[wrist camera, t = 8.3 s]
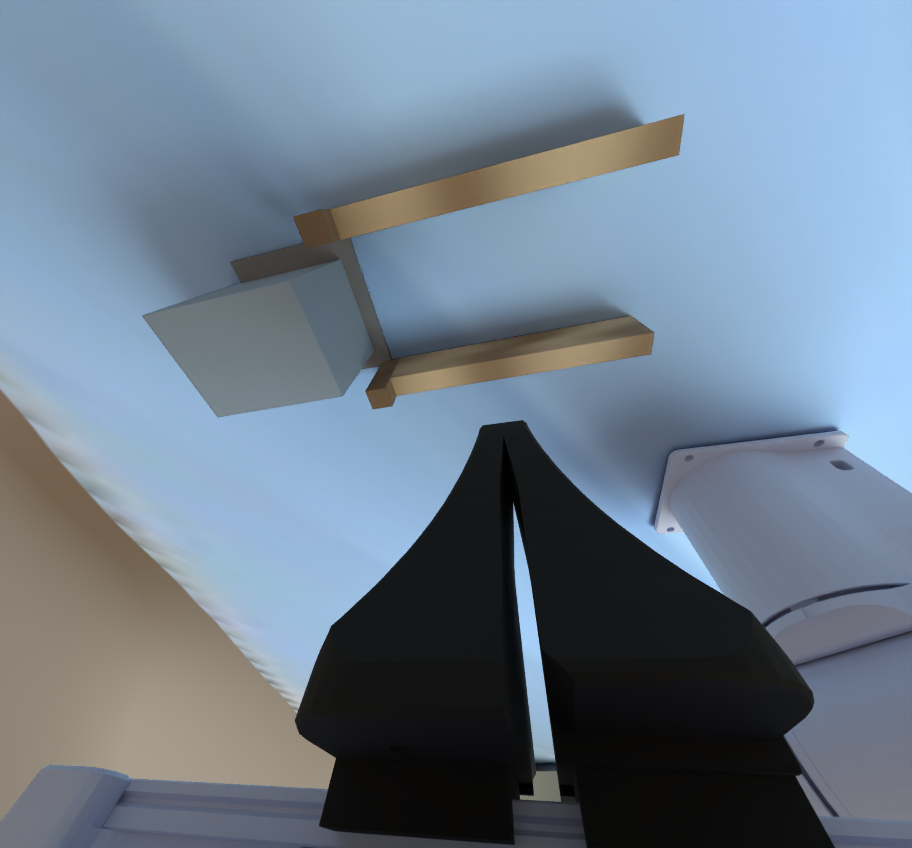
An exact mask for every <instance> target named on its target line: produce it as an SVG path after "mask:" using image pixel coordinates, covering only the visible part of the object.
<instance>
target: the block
mask: <svg viewBox="0 0 912 848" xmlns="http://www.w3.org/2000/svg"><path fill="white" fill-rule="evenodd" d="M142 317H143V318H144V319H145V321H146V322H147V323H148V325H149V326H150V327H151V329H152V330H153V331H154V333H155V334H156V335H157V337H158V338H159V339H160V341H161V342H162V344H163V345H164V346H165V348H166V349H167V350H168V352H169V353H170V354H171V356H172V357H173V358H174V360H175V361H176V362H177V364H178V365H179V366H180V368H181V369H182V370H183V372H184V373H185V374H186V376H187V377H188V378H189V380H190V381H191V382H192V384H193V385H194V386H195V388H196V389H197V391H198V392H199V393H200V395H201V396H202V397H203V399H204V400H205V401H206V403H207V404H208V405H209V407H210V408H211V409H212V411H213V412H214V413H215V415H216V416H217V417H222V416H228V415H234V414H240V413H246V412H252V411H258V410H264V409H270V408H276V407H282V406H288V405H294V404H300V403H306V402H312V401H318V400H323V399H329V398H335V397H341V396H343V395H344V394H345V392H346V391H347V389H348V388H349V386H350V385H351V384H352V382H353V381H354V379H355V378H356V376H357V375H358V373H359V372H360V370H361V369H362V368H363V366H364V365H365V363H366V362H367V360H368V359H369V357H370V356H371V354H372V353H373V351H374V348H373V346H372V343H371V340H370V337H369V335H368V332H367V329H366V326H365V324H364V321H363V318H362V316H361V313H360V310H359V307H358V305H357V302H356V299H355V297H354V294H353V291H352V288H351V286H350V283H349V280H348V278H347V275H346V272H345V269H344V267H343V264H342V261H341V259H340V260H336V261H332V262H328V263H324V264H319V265H315V266H311V267H307V268H303V269H299V270H295V271H290V272H286V273H282V274H278V275H274V276H270V277H265V278H261V279H257V280H253V281H249V282H245V283H241V284H236V285H232V286H228V287H225V288H222V289H219V290H216V291H213V292H210V293H208V294H205V295H202V296H199V297H196V298H193V299H190V300H187V301H184V302H181V303H178V304H175V305H172V306H169V307H166V308H163V309H160V310H157V311H154V312H151V313H148V314H145V315H142Z"/></svg>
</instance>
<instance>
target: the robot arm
mask: <svg viewBox="0 0 912 848" xmlns="http://www.w3.org/2000/svg"><path fill="white" fill-rule="evenodd" d="M848 438H849V436H848V435H847V434H845V433H844V432H842V431H832V432H823V433H815V434H806V435H798V436H790V437H781V438H773V439H764V440H756V441H747V442H739V443H730V444H722V445H714V446H705V447H697V448H688V449H680V450H675V451H673V452H672V453H671V454H670V455H669V458H668V462H667V467H666V472H665V477H664V481H663V486H662V491H661V496H660V500H659V505H658V510H657V515H656V519H655V524H654V529H655V531H656V532H657V533H659V534H666V533H679V532H684V533H685V535H686V536H687V538H688V539H689V541H690V542H691V544H692V546H693V547H694V549H695V550H696V552H697V553H698V555H699V557H700V558H701V560H702V561H703V563H704V564H705V566H706V568H707V569H708V571H709V572H710V574H711V576H712V577H713V579H714V580H715V582H716V583H717V585H718V587H719V588H720V590H721V591H722V593H723V594H724V595H723V594H721V593H720V592H718V591H716V590H715V589H713V588H711V587H710V586H708V585H706V584H705V583H703V582H701V581H700V580H698V579H696V578H695V577H693V576H691V575H690V574H688V573H687V572H685V571H684V570H682V569H681V568H679V567H678V566H676V565H675V564H673V563H672V562H670V561H669V560H667V559H666V558H664V557H663V556H661V555H660V554H658V553H657V552H655V551H654V550H653V549H651V548H650V547H649V546H647V545H646V544H645V543H643V542H642V541H641V540H639V539H638V538H637V537H635V536H634V535H632V534H631V533H630V532H628V531H627V530H626V529H624V528H623V527H622V526H620V525H619V524H618V523H616V522H615V521H614V520H613V519H612V518H610V517H609V516H608V515H607V514H606V513H604V512H603V511H602V510H601V509H600V508H598V507H597V506H596V505H595V504H594V503H593V502H592V501H591V500H590V499H588V498H587V497H586V496H585V495H584V494H583V493H582V492H581V491H580V490H579V489H578V488H577V487H576V486H575V485H574V484H573V483H572V482H571V481H570V480H569V479H568V478H567V477H566V476H565V475H564V474H563V473H562V471H561V470H560V469H559V468H558V467H557V466H556V465H555V464H554V462H553V461H552V460H551V459H550V457H549V456H548V455H547V454H546V453H545V451H544V450H543V449H542V447H541V446H540V445H539V443H538V442H537V440H536V439H535V437H534V436H533V434H532V433H531V431H530V429H529V428H528V426H527V423H526V422H524V421H523V420H521V421H513V422H505V423H498V424H490V425H483V426H482V427H481V428H480V430H479V434H478V437H477V440H476V443H475V445H474V448H473V450H472V452H471V455H470V457H469V459H468V461H467V463H466V465H465V467H464V469H463V471H462V473H461V475H460V477H459V479H458V480H457V482H456V484H455V486H454V487H453V489H452V491H451V493H450V494H449V496H448V498H447V499H446V501H445V502H444V504H443V505H442V507H441V508H440V510H439V511H438V513H437V514H436V516H435V517H434V518H433V520H432V521H431V522H430V524H429V525H428V526H427V528H426V529H425V530H424V531H423V533H422V534H421V535H420V537H419V538H418V539H417V540H416V542H415V543H414V544H413V545H412V546H411V548H410V549H409V550H408V551H407V552H406V553H405V554H404V556H403V557H402V558H401V559H400V560H399V561H398V562H397V563H396V564H395V565H394V566H393V567H392V568H391V570H390V571H389V572H388V573H387V574H386V575H385V576H384V577H383V578H382V579H381V580H380V581H379V582H378V583H377V584H376V585H375V586H374V587H373V588H372V589H371V590H370V591H369V592H368V593H367V594H366V595H365V596H364V597H363V598H362V599H360V600H359V601H358V602H357V603H356V604H355V605H354V606H353V607H352V608H351V609H350V610H349V611H348V612H346V613H345V614H344V615H343V616H342V617H341V618H340V619H339V620H338V621H337V622H335V623H334V624H333V625H332V626H331V628H330V630H329V633H328V635H327V637H326V639H325V641H324V643H323V646H322V648H321V650H320V652H319V655H318V657H317V660H316V662H315V665H314V668H313V671H312V673H311V676H310V679H309V682H308V685H307V687H306V690H305V693H304V696H303V699H302V702H301V704H300V707H299V710H298V713H297V716H296V719H295V723H296V725H297V729H298V731H299V734H300V735H302V736H303V737H304V738H305V739H307V740H308V741H310V742H311V743H313V744H314V745H316V746H318V747H319V748H321V749H323V750H325V751H326V752H328V753H329V754H331V755H332V756H334V757H335V758H336V761H335V765H334V768H333V772H332V777H331V780H330V784H329V788H328V789H314V788H296V787H295V788H293V787H276V786H259V785H240V784H222V783H204V782H185V781H167V780H166V781H165V780H148V779H130V778H129V776H128V775H125V774H122V773H119V772H116V771H111V770H107V769H102V768H96V767H85V766H84V767H83V766H64V765H48V766H46V767H44V768H43V769H41V770H40V772H39V773H38V774H37V775H36V777H35V778H34V779H33V781H32V782H31V783H30V784H29V785H28V787H27V788H26V789H25V791H24V792H23V793H22V795H21V796H20V797H19V798H18V800H17V801H16V802H15V803H14V805H13V806H12V807H11V809H10V810H9V811H8V813H7V814H6V815H5V816H4V818H3V819H2V820H1V822H0V848H912V493H910V492H909V491H907V490H906V489H904V488H903V487H901V486H900V485H898V484H897V483H895V482H894V481H892V480H891V479H889V478H888V477H886V476H885V475H883V474H882V473H880V472H879V471H877V470H876V469H874V468H873V467H871V466H870V465H868V464H867V463H865V462H864V461H862V460H861V459H859V458H858V457H856V456H855V455H853V454H852V453H850V452H849V451H847V450H846V449H844V446H845V444H846V443H847V441H848ZM688 455H689V456H688ZM686 456H687V457H686ZM513 502H514V507H515V511H516V515H517V520H518V524H519V529H520V533H521V537H522V542H523V546H524V551H525V555H526V560H527V564H528V569H529V574H530V579H531V586H532V593H533V600H534V608H535V615H536V622H537V629H538V637H539V644H540V651H541V658H542V666H543V673H544V680H545V687H546V695H547V702H548V709H549V716H550V724H551V731H552V738H553V746H554V753H555V760H556V767H557V774H558V781H559V789H560V796H561V802H554V801H553V802H551V801H534V800H520V795H528V796H534V791H533V778H534V776H535V774H536V767H535V759H534V750H533V741H532V732H531V723H530V715H529V706H528V697H527V688H526V679H525V670H524V661H523V652H522V642H521V633H520V624H519V614H518V605H517V596H516V586H515V571H514V519H513Z"/></svg>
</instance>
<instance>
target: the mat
mask: <svg viewBox="0 0 912 848" xmlns="http://www.w3.org/2000/svg"><path fill="white" fill-rule="evenodd" d="M340 259H341V261H342V264H343V267H344V269H345V272H346V275H347V278H348V280H349V283H350V286H351V288H352V291H353V294H354V297H355V299H356V302H357V305H358V307H359V310H360V313H361V316H362V318H363V321H364V324H365V326H366V329H367V332H368V335H369V337H370V340H371V343H372V346H373V348H374V351H373V353H372V354H371V356H370V357H369V359H368V360H367V362H366V363H365V365H364V366H363V368H362V369H366V368H372V367H377V366H380V365H381V364H382V362H386V361H391V360H392V359H391V356H390V353H389V350H388V348H387V345H386V342H385V339H384V336H383V333H382V330H381V327H380V324H379V321H378V318H377V315H376V312H375V310H374V307H373V304H372V301H371V298H370V295H369V292H368V289H367V286H366V283H365V280H364V277H363V274H362V271H361V269H360V266H359V263H358V260H357V257H356V254H355V251H354V248H353V245H352V242H351V239H350V238H346V239H342V240H339V241H335V242H331V243H327V244H323V245H319V246H315V247H311V248H307V249H306V247H305V245H304V243H303V244H299V245H296V246H292V247H288V248H284V249H280V250H276V251H272V252H268V253H264V254H260V255H256V256H252V257H248V258H244V259H240V260H236V261H233V262H230V263H231V265H232V267H233V268H234V270H235V272H236V274H237V276H238V278H239V279H240V281H241V283H245V282H249V281H253V280H257V279H261V278H265V277H270V276H274V275H278V274H282V273H286V272H290V271H295V270H299V269H303V268H307V267H311V266H315V265H319V264H324V263H328V262H332V261H336V260H340Z"/></svg>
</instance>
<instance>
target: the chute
mask: <svg viewBox="0 0 912 848" xmlns="http://www.w3.org/2000/svg"><path fill="white" fill-rule="evenodd" d="M683 121H684V114H683V115H679V116H675V117H672V118H668V119H664V120H661V121H657V122H653V123H649V124H646V125H642V126H638V127H634V128H631V129H627V130H623V131H620V132H616V133H612V134H608V135H605V136H601V137H597V138H594V139H590V140H586V141H582V142H579V143H575V144H571V145H568V146H564V147H560V148H556V149H553V150H549V151H545V152H541V153H538V154H534V155H530V156H527V157H523V158H519V159H515V160H512V161H508V162H504V163H501V164H497V165H493V166H489V167H486V168H482V169H478V170H475V171H471V172H467V173H463V174H460V175H456V176H452V177H448V178H445V179H441V180H437V181H434V182H430V183H426V184H422V185H419V186H415V187H411V188H408V189H404V190H400V191H396V192H393V193H389V194H385V195H381V196H378V197H374V198H370V199H367V200H363V201H359V202H355V203H352V204H348V205H344V206H341V207H337V208H333V209H326V210H317V211H313V212H309V213H305V214H302V215H298V216H294V217H293V218H294V221H295V223H296V225H297V228H298V230H299V233H300V235H301V237H302V240H303V242H304V245H305V247H306V249H307V248H311V247H315V246H319V245H323V244H327V243H331V242H335V241H339V240H342V239H346V238H350V237H354V236H358V235H362V234H366V233H370V232H374V231H378V230H382V229H386V228H390V227H394V226H398V225H402V224H406V223H410V222H414V221H418V220H422V219H426V218H430V217H434V216H438V215H442V214H446V213H450V212H454V211H458V210H462V209H466V208H470V207H474V206H478V205H482V204H486V203H490V202H494V201H498V200H502V199H506V198H510V197H514V196H518V195H522V194H526V193H530V192H534V191H538V190H542V189H546V188H550V187H554V186H558V185H562V184H566V183H569V182H573V181H577V180H581V179H585V178H589V177H593V176H597V175H601V174H605V173H609V172H613V171H617V170H621V169H625V168H629V167H633V166H637V165H641V164H645V163H649V162H653V161H657V160H661V159H665V158H669V157H673V156H677V155H679V150H680V143H681V136H682V129H683ZM653 338H654V332H653V331H651V330H650V329H649V328H647V327H646V326H645V325H643V324H642V323H640V322H639V321H638V320H636V319H635V318H633V317H632V316H627V317H621V318H616V319H610V320H605V321H599V322H594V323H588V324H583V325H577V326H572V327H566V328H561V329H556V330H550V331H545V332H539V333H534V334H528V335H523V336H517V337H512V338H506V339H501V340H495V341H490V342H484V343H479V344H473V345H468V346H462V347H457V348H451V349H446V350H441V351H435V352H430V353H424V354H419V355H413V356H408V357H402V358H397V359H392V360H391V361H386V362H382V364H381V365H380V367H379V369H378V371H377V372H376V374H375V376H374V377H373V379H372V381H371V383H370V384H369V386H368V388H367V389H366V391H365V392H366V394H367V397H368V399H369V401H370V404H371V406H372V409H377V408H384V407H390V406H393V403H394V401H395V398H396V396H399V395H405V394H411V393H417V392H423V391H429V390H435V389H441V388H448V387H454V386H460V385H466V384H472V383H478V382H484V381H490V380H496V379H503V378H509V377H515V376H521V375H527V374H533V373H539V372H545V371H552V370H558V369H564V368H570V367H576V366H582V365H588V364H594V363H600V362H607V361H613V360H619V359H625V358H631V357H637V356H643V355H649V354H651V352H652V345H653Z"/></svg>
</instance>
